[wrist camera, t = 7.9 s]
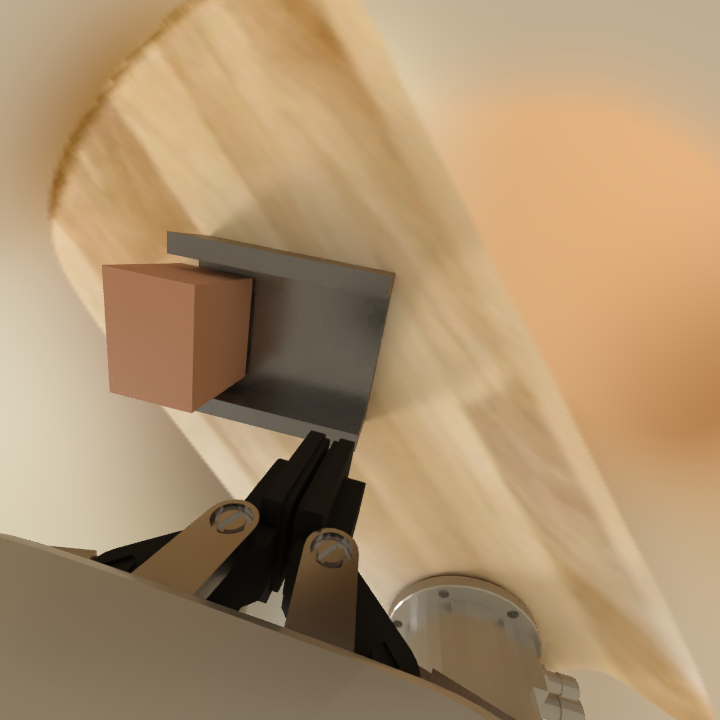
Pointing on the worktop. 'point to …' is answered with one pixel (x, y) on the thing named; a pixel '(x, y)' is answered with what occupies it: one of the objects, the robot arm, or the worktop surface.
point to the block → (175, 332)
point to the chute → (299, 337)
